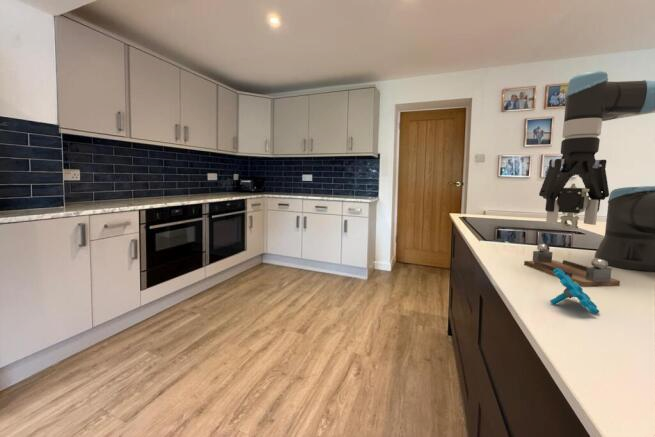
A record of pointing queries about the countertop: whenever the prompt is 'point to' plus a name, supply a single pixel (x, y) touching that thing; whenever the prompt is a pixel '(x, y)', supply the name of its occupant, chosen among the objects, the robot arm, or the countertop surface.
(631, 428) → the countertop surface
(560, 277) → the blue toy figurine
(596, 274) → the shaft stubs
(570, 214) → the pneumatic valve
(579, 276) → the brown wooden board
